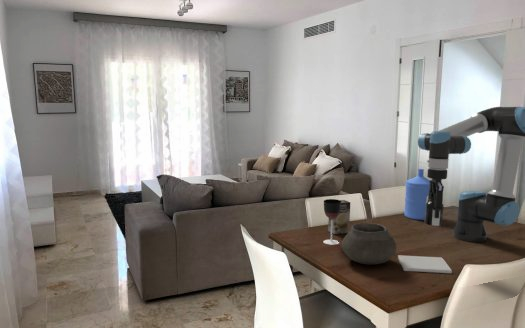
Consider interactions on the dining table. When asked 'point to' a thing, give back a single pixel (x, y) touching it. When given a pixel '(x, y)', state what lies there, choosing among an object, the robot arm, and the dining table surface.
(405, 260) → the stone board
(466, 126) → the robot arm
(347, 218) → the coffee box
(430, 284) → the dining table surface
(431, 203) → the supplement bottle
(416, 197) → the water jug
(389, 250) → the clay pot
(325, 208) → the wineglass
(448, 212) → the dining table surface
